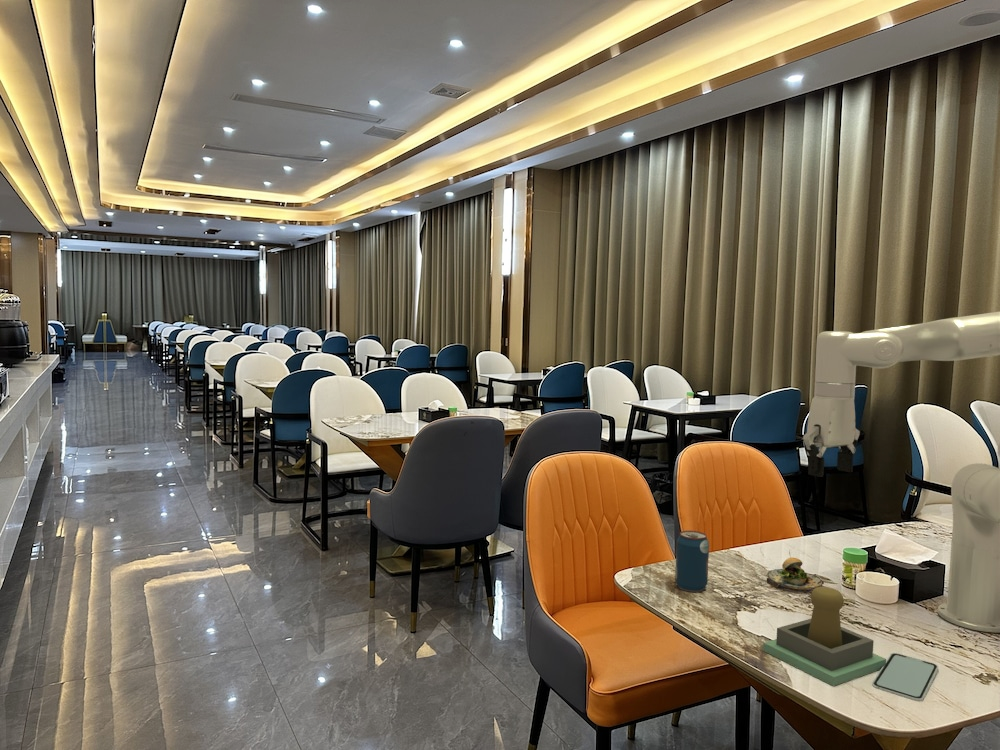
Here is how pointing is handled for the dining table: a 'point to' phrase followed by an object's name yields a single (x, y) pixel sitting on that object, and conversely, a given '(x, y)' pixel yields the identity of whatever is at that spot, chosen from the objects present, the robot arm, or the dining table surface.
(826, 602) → the olive brown pawn
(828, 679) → the socket board
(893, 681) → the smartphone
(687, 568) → the soda can
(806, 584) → the burger
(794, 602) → the dining table surface
